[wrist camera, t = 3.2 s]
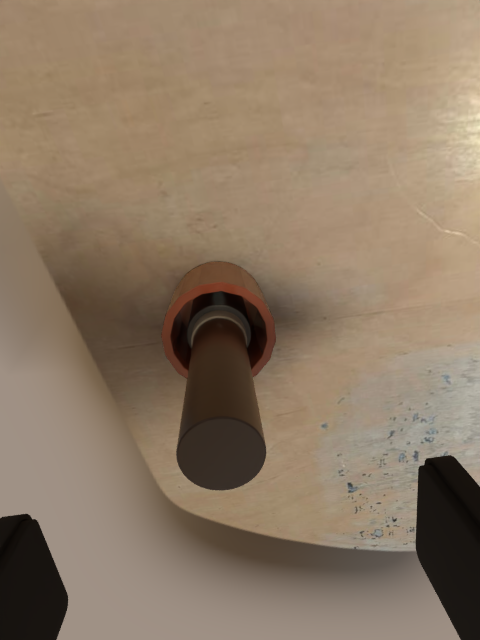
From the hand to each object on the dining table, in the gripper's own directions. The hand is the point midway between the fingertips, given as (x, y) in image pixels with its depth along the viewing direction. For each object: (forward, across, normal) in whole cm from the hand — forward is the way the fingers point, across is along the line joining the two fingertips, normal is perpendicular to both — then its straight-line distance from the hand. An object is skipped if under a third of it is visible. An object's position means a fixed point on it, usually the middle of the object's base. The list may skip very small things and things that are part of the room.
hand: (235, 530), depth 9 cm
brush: (+18, 0, 0) cm, 18 cm away
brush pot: (+18, 0, 0) cm, 18 cm away
